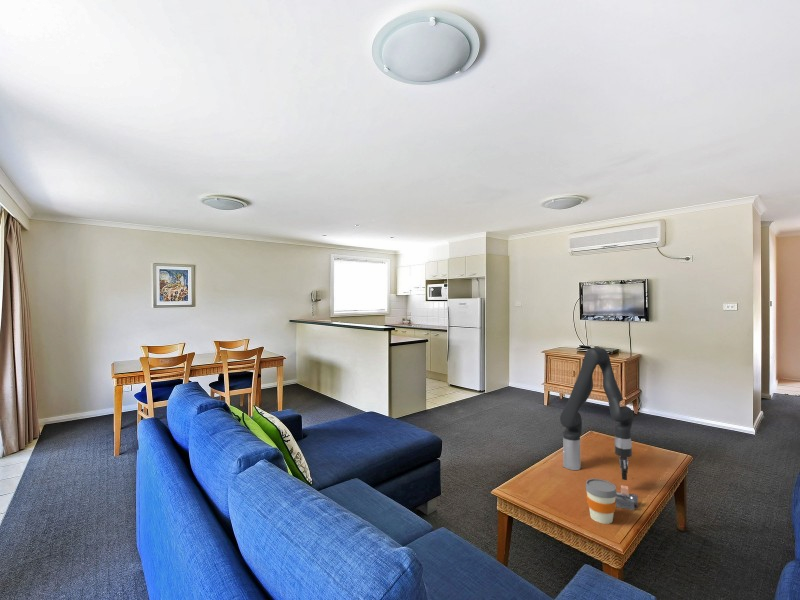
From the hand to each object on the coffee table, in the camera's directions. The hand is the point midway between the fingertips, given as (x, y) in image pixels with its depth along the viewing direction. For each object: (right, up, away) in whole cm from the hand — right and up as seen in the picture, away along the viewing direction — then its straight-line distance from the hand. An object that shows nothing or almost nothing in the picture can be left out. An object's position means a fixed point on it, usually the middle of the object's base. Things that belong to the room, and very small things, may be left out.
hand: (624, 479), depth 196 cm
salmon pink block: (-4, -6, -6) cm, 9 cm away
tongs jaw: (-12, -6, -14) cm, 20 cm away
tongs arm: (-10, -6, -11) cm, 16 cm away
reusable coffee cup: (-25, -7, -24) cm, 35 cm away
